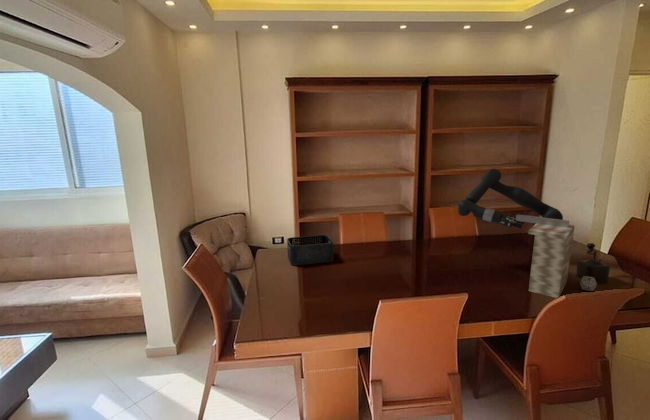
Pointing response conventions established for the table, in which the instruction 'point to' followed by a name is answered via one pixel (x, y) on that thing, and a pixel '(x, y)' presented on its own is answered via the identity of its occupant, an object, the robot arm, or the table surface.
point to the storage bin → (310, 250)
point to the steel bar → (542, 220)
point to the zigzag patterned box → (550, 258)
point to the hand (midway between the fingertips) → (523, 224)
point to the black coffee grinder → (593, 267)
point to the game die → (588, 283)
